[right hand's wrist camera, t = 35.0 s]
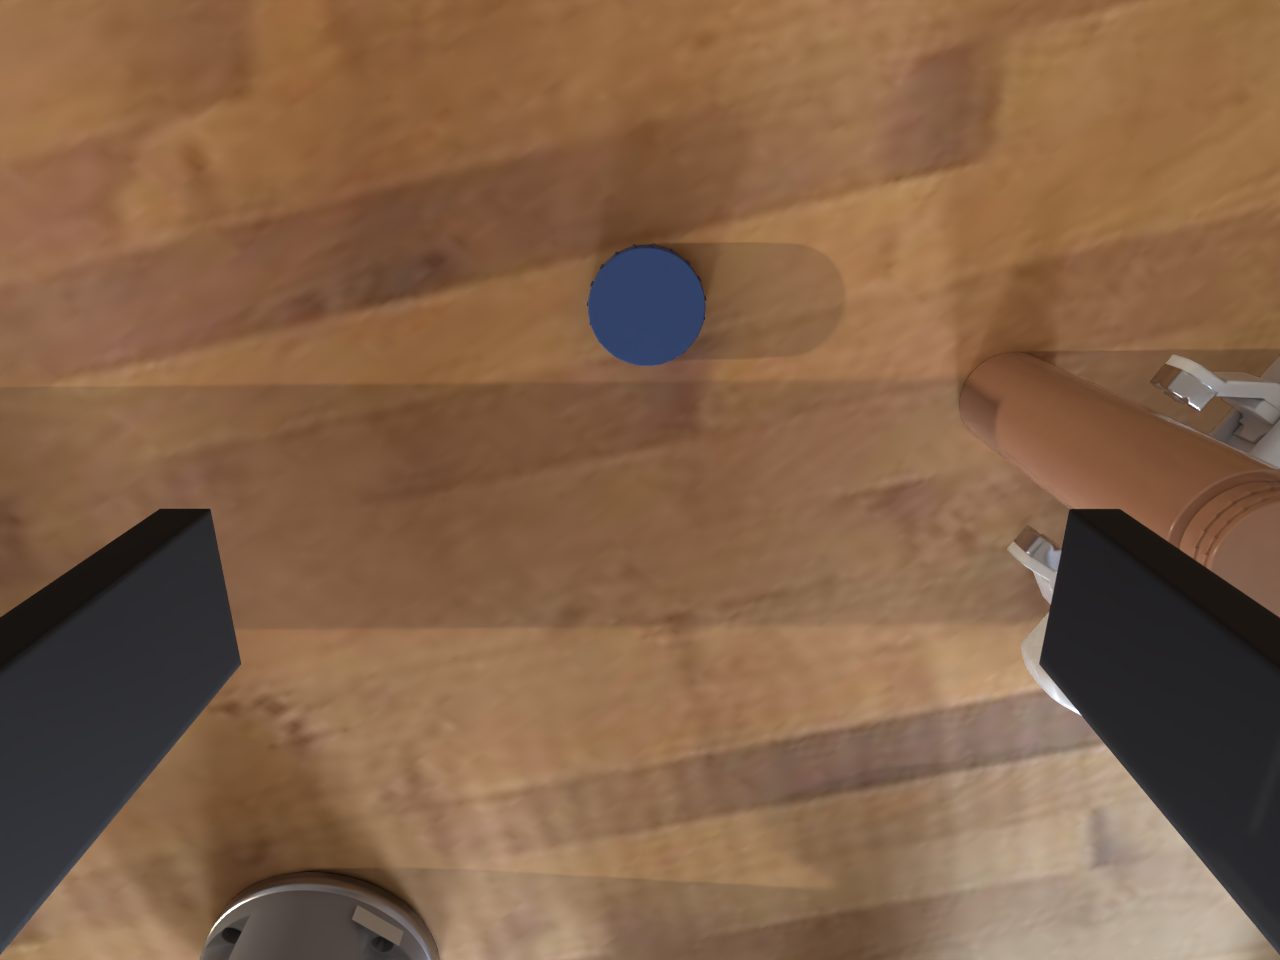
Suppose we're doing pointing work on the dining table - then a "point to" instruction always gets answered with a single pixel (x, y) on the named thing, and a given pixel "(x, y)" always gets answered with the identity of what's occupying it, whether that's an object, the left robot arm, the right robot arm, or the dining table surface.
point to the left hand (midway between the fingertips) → (1092, 459)
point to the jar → (1132, 466)
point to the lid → (646, 305)
